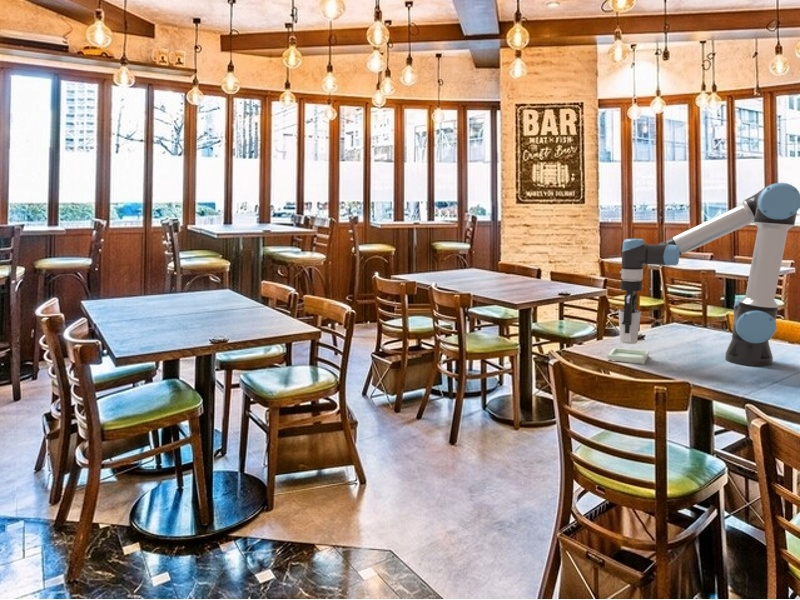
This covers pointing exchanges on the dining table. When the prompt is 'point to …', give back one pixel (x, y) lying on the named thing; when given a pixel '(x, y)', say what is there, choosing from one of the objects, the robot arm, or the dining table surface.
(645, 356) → the tray
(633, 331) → the cup
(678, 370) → the dining table surface
